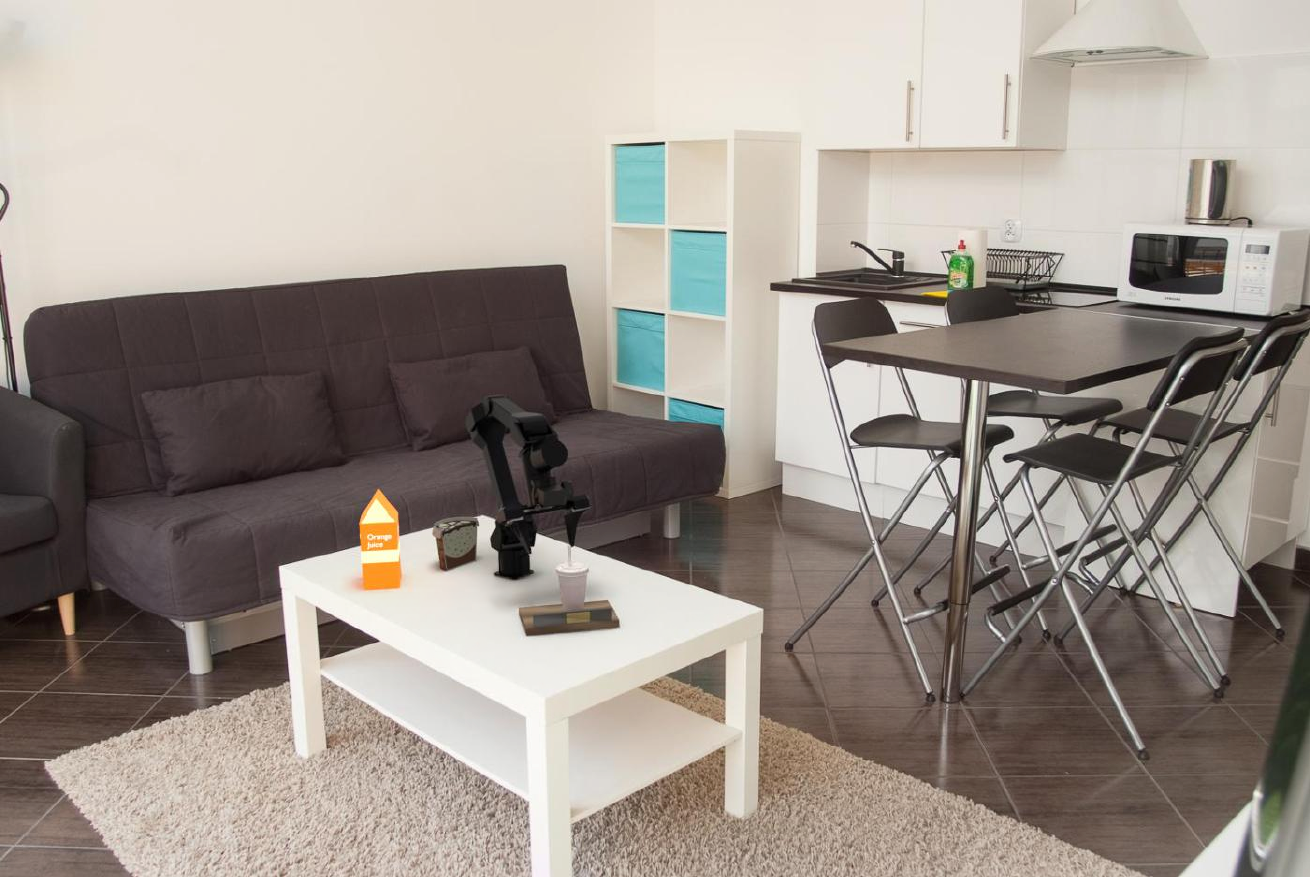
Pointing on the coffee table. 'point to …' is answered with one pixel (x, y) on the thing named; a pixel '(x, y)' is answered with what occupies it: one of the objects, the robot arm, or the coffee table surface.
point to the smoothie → (572, 583)
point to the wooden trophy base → (568, 618)
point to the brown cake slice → (456, 541)
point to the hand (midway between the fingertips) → (551, 550)
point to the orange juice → (380, 545)
